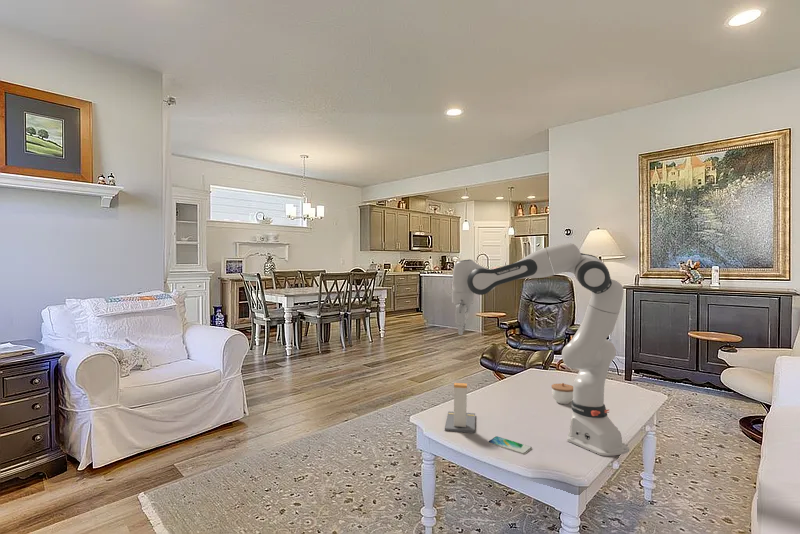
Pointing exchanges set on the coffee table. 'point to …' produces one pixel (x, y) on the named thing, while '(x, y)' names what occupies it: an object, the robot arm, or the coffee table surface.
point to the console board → (450, 426)
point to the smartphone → (510, 445)
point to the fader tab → (460, 404)
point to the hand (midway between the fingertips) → (461, 332)
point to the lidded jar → (562, 393)
